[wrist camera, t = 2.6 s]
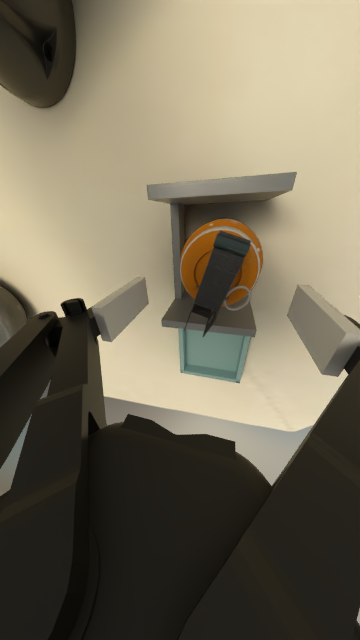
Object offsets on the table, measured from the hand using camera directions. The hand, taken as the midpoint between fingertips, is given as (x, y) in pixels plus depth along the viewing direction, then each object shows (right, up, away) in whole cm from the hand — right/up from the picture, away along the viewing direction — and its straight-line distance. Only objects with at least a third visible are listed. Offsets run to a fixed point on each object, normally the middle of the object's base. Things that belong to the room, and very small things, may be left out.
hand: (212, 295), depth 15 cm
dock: (+4, +10, +15) cm, 18 cm away
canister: (+4, +10, +15) cm, 18 cm away
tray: (+5, -8, +26) cm, 27 cm away
